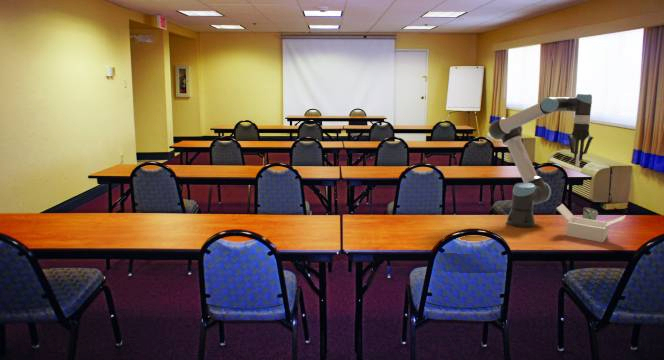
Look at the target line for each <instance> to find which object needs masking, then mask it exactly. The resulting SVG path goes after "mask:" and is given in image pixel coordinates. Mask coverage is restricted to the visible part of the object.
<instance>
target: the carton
mask: <svg viewBox="0 0 664 360" xmlns="http://www.w3.org/2000/svg"><path fill="white" fill-rule="evenodd" d="M608 222H609V221H608ZM608 222H607V221H602V220H601V221H600V220H597V219H596V220H590V219H584V218H583V217H578V216H573V217H572V218H571V219H570V220H569V221H567V222H566V230H565V232H566V233H565V236H566V237H571V238H577V239H580V240H587V241H592V242H597V243H604V242H605V241H606V240H607V238H608V236H609V228H610V226H608V227H606V228H605V226H606V225H607V223H608Z"/></svg>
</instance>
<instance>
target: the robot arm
mask: <svg viewBox="0 0 664 360" xmlns="http://www.w3.org/2000/svg"><path fill="white" fill-rule="evenodd" d="M592 104H593V96H592V94H590V93H576V97H575V96H574V97H568V96H567V97H566V96H558V97H556V96H555V97H553V96H549V97H545V98H544V99H543V100H542V101H540V102H538V103H536V104H534V105H531V106H530V107H527V108H525V109H523V110H521V111H518V112H515V113H514V114H511V115H509V116H507V117H501V118H498V119H497V120H494V121H493V122H491V123H490V125H489V127H488V132H489V135H490V137H492V138H493V139H495V140H496V141H497V140H498V141H499V140H500V141H501V142H502V144H503V145H504V146H506V147H507V149H508V151H509V152H510V155H511V157H512V159H513V162H514V164H515V166H516V169H517V170H518V172H519V174H520V178H521V179H522V181H523V182H517V183H515V184H514V186H513V187H512V197H511V209H510V212H509V214H508V215H507V219H506V224H508V225H510V226H513V227H518V228H532V227H535V224H536V221H535V216H534V205H537V204H543V203H545V202H547V201H549V199H550V197H551V195H552V189H551V187H550V185H549V184H548V183H547V182H544V180H543V178H542V177H541V176H539V175H538V174H537V171H536V169H535V167H534V165H533V162H532V161H531V158H530V157H529V156H530V155H529V154H528V152H527V149H526V148H525V145H524V143H523V141H522V139H523V135H522V134H523V126H524V125H526V124H528V123H531V122H532V121H535V120H537V119H539V118H542V117H545V116H546V115H549V114H552V113H554V112H574V118H573V119H574V120H573V122H574V123H573V128H572V129H573V130H572V133H571V134H568V135H567V136H566V137H567V139H568V142H569V149H570V150H569V151H570V153H571V154H573V156H574V157H573V160H574V161H575V164H574V165H575V166H574V167H576V168H579V167H580V165H581V164H580V163H581V162H582V161H583V157H584V155H586V154H587V153H588V151H589V148H590V145H591V143H592V140H593V139H594V136H592V135H590V124H589V123H591V111H592ZM573 138H574V140H575V141H574V140H573ZM586 139H587V141H586ZM585 141H586V144H585ZM574 142H575V144H574ZM579 145H580V146H579Z"/></svg>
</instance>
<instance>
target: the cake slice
mask: <svg viewBox="0 0 664 360" xmlns="http://www.w3.org/2000/svg"><path fill="white" fill-rule="evenodd" d="M582 210H583V211H582V218H584V219H590V220H596V221H597V217H598V216H599V212H598V210H597V209H594V208H591V207H583V209H582Z"/></svg>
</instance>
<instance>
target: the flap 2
mask: <svg viewBox="0 0 664 360" xmlns="http://www.w3.org/2000/svg"><path fill="white" fill-rule="evenodd" d="M626 217H627V215H622V216H620V217H617V218H615V219H612V220H610V221H608V223H607V225H606V226H605V228H606V227H608V226H609V227H611V226H613V225H616V224H618V223H621V222H623V221H624V220H625V218H626Z"/></svg>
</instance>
